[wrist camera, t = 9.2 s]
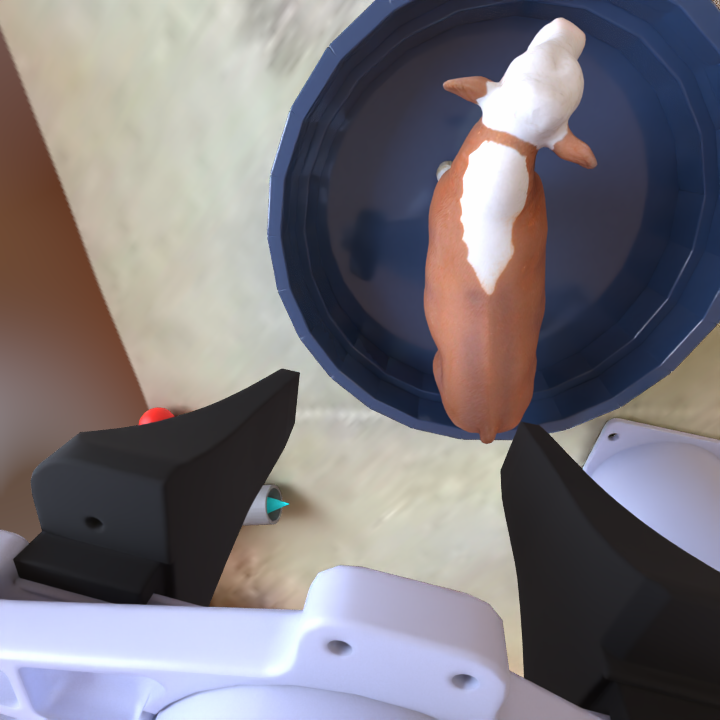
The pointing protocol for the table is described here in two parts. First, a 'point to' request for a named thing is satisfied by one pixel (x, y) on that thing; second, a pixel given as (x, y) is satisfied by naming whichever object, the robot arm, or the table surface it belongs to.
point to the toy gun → (266, 501)
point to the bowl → (560, 184)
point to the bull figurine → (499, 233)
